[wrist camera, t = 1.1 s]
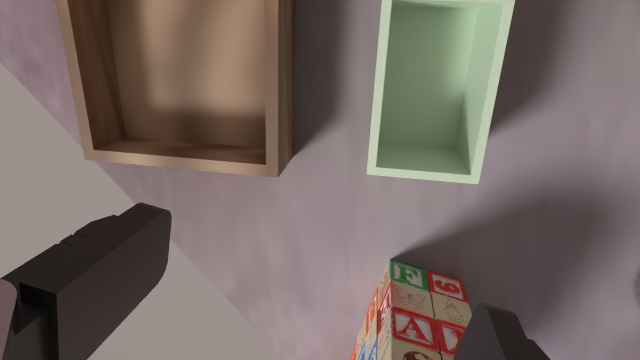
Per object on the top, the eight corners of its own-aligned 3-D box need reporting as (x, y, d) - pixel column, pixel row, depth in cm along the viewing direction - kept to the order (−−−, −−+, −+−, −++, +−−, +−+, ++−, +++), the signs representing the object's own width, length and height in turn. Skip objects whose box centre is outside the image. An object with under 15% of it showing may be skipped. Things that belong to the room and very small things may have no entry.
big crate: (295, -63, 25) (278, -82, 20) (292, 157, 30) (277, 177, 26) (93, -65, 26) (39, -84, 22) (124, 143, 32) (84, 159, 27)
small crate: (486, 1, 24) (516, -9, 19) (459, 154, 28) (478, 184, 22) (382, -2, 25) (382, -12, 20) (369, 147, 29) (366, 174, 23)
